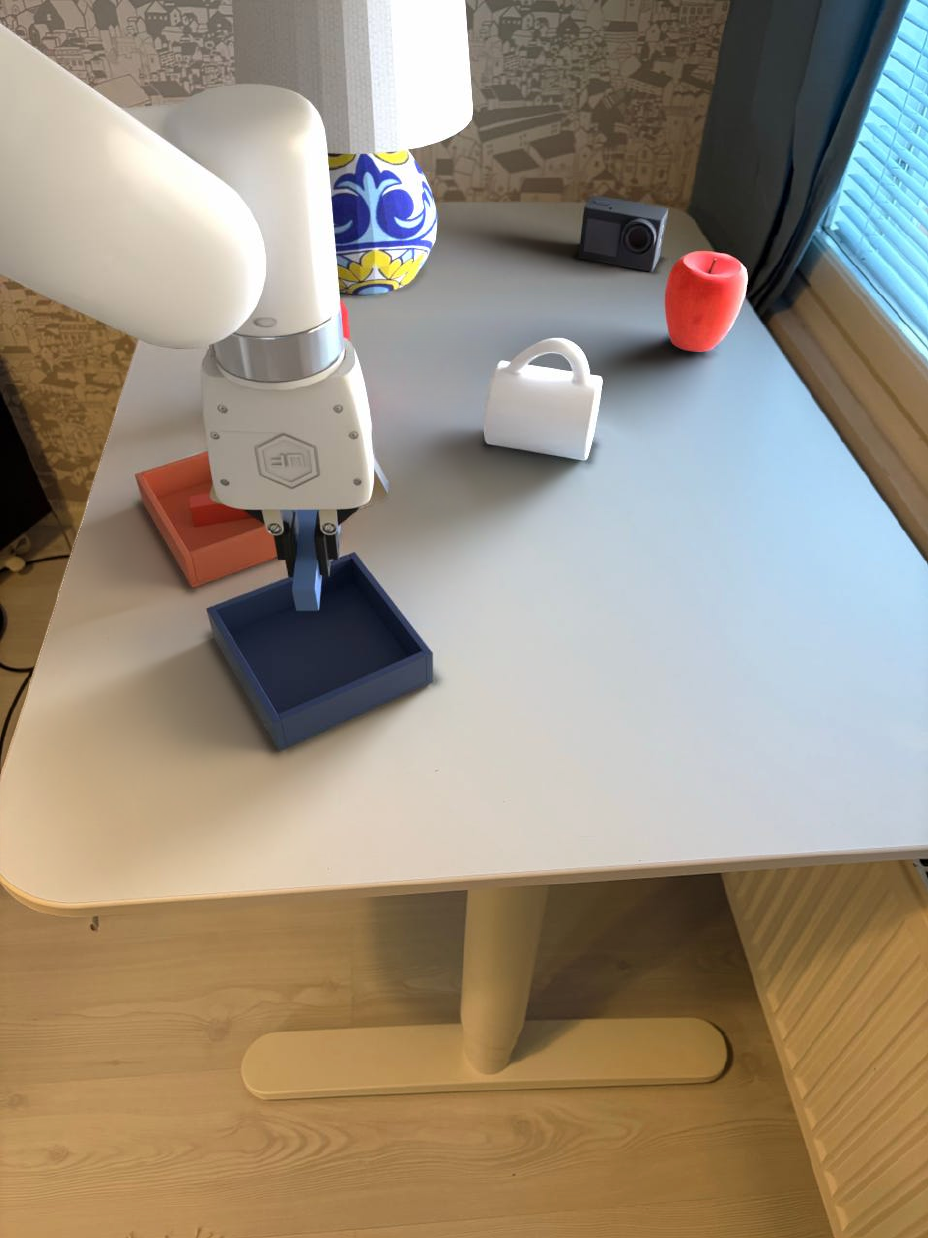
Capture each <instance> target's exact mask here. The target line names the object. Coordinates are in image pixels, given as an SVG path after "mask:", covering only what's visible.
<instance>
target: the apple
mask: <svg viewBox="0 0 928 1238" xmlns="http://www.w3.org/2000/svg"><path fill="white" fill-rule="evenodd" d="M748 278H749V277H748V272H747V268H746V267H745V265H743V263H741V262H740V261H739V260H738V259H737V258H735V257H733V256H731V255H729V254H727V253H720V252H715V251H707V250H700V251H699V250H697V251H693V252H690V253H688V254H686V255H683V256H681V257H680V258H679V259H678V260H677V261H676V262H674V263H673V265H672V267H671V269H670V271H669V274H668V277H667V282H666V285H665V290H664V311H665V322H666V327H667V331H668V332H667V333H668V335H669V339H670V341H671V344H672V346H673V345H674V347H676V348H678V349H681V350H682V351H686V352H694V353H703V352H708V351H711V350H713V349H714V348H715V347H716V346H717V345H718V344H720V342H721V341H722V340H723V339H725V337H726V336H727V335H728V332H729V331H730V330H731V328H732V327H733V325H734V323H735V321H736V319H737V317H738V315H739V314H740V310H741V308H742V305H743V303H744V300H745V297H746V293H747V288H748V287H747V285H748V281H749V279H748Z"/></svg>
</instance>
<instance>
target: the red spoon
mask: <svg viewBox="0 0 928 1238" xmlns="http://www.w3.org/2000/svg"><path fill="white" fill-rule="evenodd" d="M189 505H190V510H191V514H192V518H193V522H194V526H195V527H201V526H207V525H213V524H219V523H225V522H230V521H236V520H242V519H248V518H254V517H252V516H251V515H249V514H248V513H246V512H245V511H244V510H243V509H237V508H233V507H230V506H227V505H225V504H221V503H217V502H214V501H213V500H211V498H210V494H203V495H197V496H191V497H189Z"/></svg>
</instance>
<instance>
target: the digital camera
mask: <svg viewBox="0 0 928 1238" xmlns="http://www.w3.org/2000/svg"><path fill="white" fill-rule="evenodd" d="M668 213H669V207H663V206H658V205H653V204H647V203H641V202H635V201H630V200H624V199H618V198H612V197H606V196H600V195H594V194H592V195H591V196H590V198H589V199H588V201H587V202H586V204H585V205H584V208H583V215H582V223H581V230H580V231H581V232H580V241H579V248H578V258H579V259H583V260H588V261H593V262H598V263H603V264H608V265H613V266H619V267H624V268H629V269H635V270H639V271H640V270H641V271H646V272H652V273H653V272H654V269H655V267H656V266H657V264H658V263H659V260H660V256H661V250H662V246H663V245H662V244H663V240H664V235H665V229H666V225H667V219H668Z"/></svg>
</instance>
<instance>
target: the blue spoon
mask: <svg viewBox="0 0 928 1238" xmlns="http://www.w3.org/2000/svg"><path fill="white" fill-rule="evenodd" d="M317 511H318V510H294V512H297V517H298V524H299V534H298V544H297V553H296V560H295V566H294V576H293V585H292V593H293V598H294V602H295V607H296V611H318V610H319V603H320V591H321V579H322V575H320V572H319V564H318V560H317V557H316V550H315V543H314V532H315V524H316V516H317ZM338 533H339V534H340V533H341V525H339V526H338Z"/></svg>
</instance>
